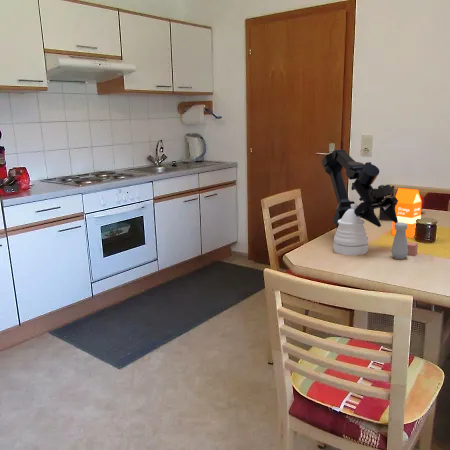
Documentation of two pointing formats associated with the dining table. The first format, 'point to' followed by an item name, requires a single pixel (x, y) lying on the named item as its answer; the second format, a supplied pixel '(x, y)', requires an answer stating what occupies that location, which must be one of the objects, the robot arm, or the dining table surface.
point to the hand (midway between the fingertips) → (388, 224)
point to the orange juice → (408, 210)
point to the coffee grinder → (382, 215)
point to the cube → (412, 248)
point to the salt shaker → (400, 241)
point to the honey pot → (351, 234)
